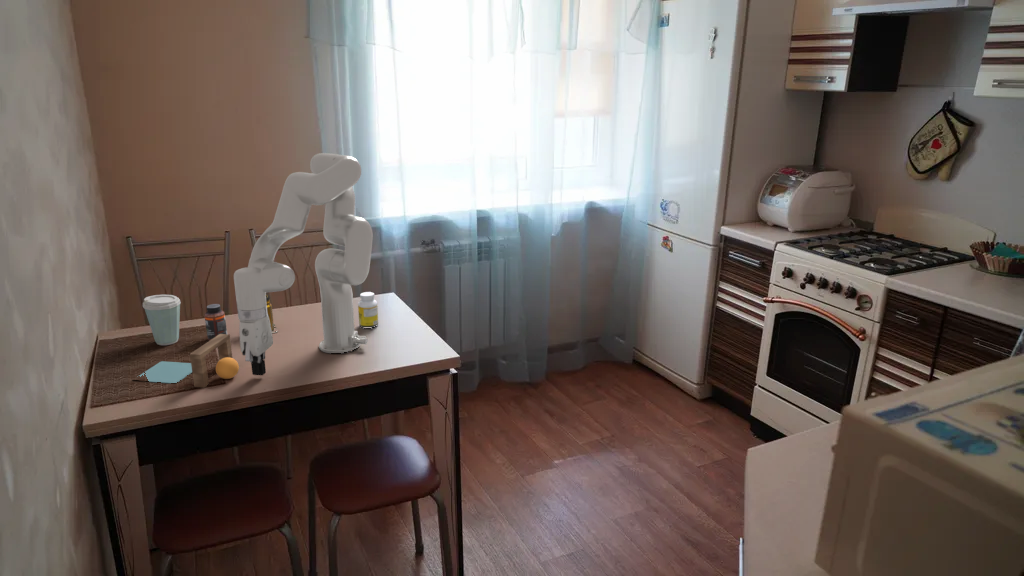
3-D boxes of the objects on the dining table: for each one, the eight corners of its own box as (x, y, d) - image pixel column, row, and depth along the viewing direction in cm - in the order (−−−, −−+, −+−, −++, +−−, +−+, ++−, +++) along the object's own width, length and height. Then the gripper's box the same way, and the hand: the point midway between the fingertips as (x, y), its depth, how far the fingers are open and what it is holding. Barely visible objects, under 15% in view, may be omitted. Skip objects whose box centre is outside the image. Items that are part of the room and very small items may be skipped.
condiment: (254, 335, 217) (250, 301, 213) (252, 327, 224) (248, 293, 220) (277, 332, 220) (274, 298, 216) (274, 324, 227) (271, 291, 223)
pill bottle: (363, 322, 230) (361, 290, 227) (381, 323, 229) (379, 291, 226) (356, 328, 224) (354, 296, 221) (374, 330, 223) (373, 297, 220)
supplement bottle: (231, 336, 216) (227, 303, 213) (221, 342, 210) (217, 309, 207) (213, 335, 217) (209, 302, 213) (204, 341, 211) (199, 308, 208)
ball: (217, 358, 188) (227, 376, 189) (207, 366, 182) (218, 385, 183) (235, 351, 187) (246, 369, 189) (227, 359, 181) (237, 377, 183)
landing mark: (202, 364, 194) (202, 364, 194) (176, 383, 182) (175, 383, 182) (161, 361, 196) (161, 361, 196) (132, 380, 183) (132, 380, 183)
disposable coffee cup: (176, 333, 218) (170, 289, 213) (192, 341, 211) (186, 296, 206) (143, 342, 210) (135, 297, 205) (158, 351, 203) (150, 305, 199)
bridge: (233, 365, 194) (229, 334, 191) (204, 387, 180) (200, 354, 177) (223, 364, 195) (219, 333, 192) (194, 386, 180) (189, 354, 177)
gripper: (252, 322, 173) (259, 386, 179) (278, 304, 187) (283, 364, 193) (225, 321, 174) (232, 384, 180) (253, 303, 188) (259, 362, 194)
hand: (259, 373), depth 186 cm, fingers closed
